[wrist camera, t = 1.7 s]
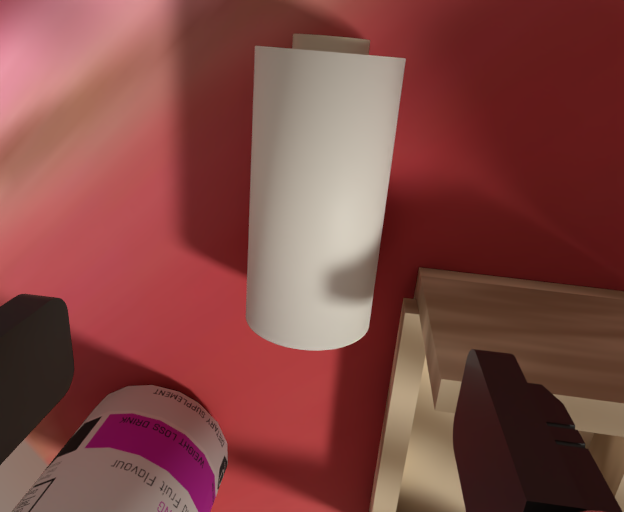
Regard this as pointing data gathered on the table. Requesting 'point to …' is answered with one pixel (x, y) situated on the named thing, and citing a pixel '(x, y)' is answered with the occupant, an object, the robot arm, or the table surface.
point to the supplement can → (136, 458)
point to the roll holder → (507, 339)
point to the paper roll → (318, 188)
